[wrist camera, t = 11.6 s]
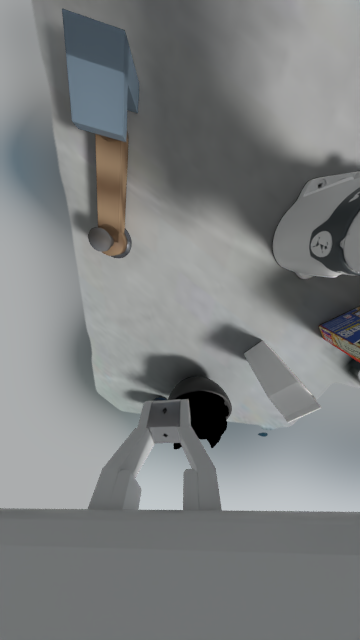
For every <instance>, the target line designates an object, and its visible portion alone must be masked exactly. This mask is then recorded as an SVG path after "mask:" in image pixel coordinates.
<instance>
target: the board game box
mask: <svg viewBox="0 0 360 640" xmlns="http://www.w3.org/2000/svg"><path fill="white" fill-rule="evenodd" d="M319 328H320V331H321V334H322V337H323V339H324V340H326V341H327V342H329V343H330V344H332V345H333V346H335V347H337V348H338V349H340V350H341V351H343V352H344V353H346V354H347V355H349V356H350V357H352V358H354V359H355V360H357V361H358V362H360V307H357V308H355V309H353V310H351V311H349V312H347V313H345V314H343V315H341V316H339V317H337V318H335V319H333V320H331V321H328V322H326V323H324V324H322V325H319Z"/></svg>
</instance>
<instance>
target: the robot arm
mask: <svg viewBox="0 0 360 640" xmlns="http://www.w3.org/2000/svg"><path fill="white" fill-rule="evenodd" d="M318 185H320V187H319V188H318ZM273 253H274V256H275V259H276V261H277V262H278V263H279V264H280V265H281V266H282V267H283V268H285V269H287V270H291V271H293V272H295V273H296V274H297V275H298V276H299V277H300V278H301V279H309V278H311V277H313V276H321V277H329V278H334V277H337V276H338V275H341V274H345V275H354V276H355V275H359V276H360V171H357V172H351V173H345V174H338V175H332V176H326V177H320V178H315V179H312V180H310V181H308V182H307V183H306V185H305V186H304V188H303V190H302V192H301V194H300V196H299V198H298V200H297V201H296V202H295V203H294V205H293V206H292V207H291V208H290V209H289V210H288V211H287V212H286V214H285V215H284V216H283V218H282V219H281V221H280V223H279V225H278V227H277V229H276V232H275V235H274V239H273ZM154 443H181V445H182V447H183V450H184V452H185V454H186V456H187V459H188V461H189V463H190V465H191V468H192V469H186V470H185V472H184V486H183V487H184V488H183V496H184V497H183V510H138V508H139V501H140V496H141V488H140V486H139V484H138V483H137V481H136V480H135V478H136V476H137V474H138V472H139V471H140V469H141V467H142V465H143V464H144V462H145V460H146V458H147V457H148V455H149V453H150V451H151V450H152V448H153V446H154ZM0 640H360V512H309V511H307V512H306V511H304V512H303V511H222V510H221V504H220V496H219V489H218V482H217V476H216V468H215V466H214V465H213V463H212V461H211V460H210V458H209V456H208V454H207V453H206V451H205V449H204V447H203V446H202V444H201V442H200V440H199V439H198V437H197V435H196V434H195V432H194V430H193V428H192V427H191V419H190V407H189V399H177V400H162V401H145V402H144V404H143V408H142V412H141V416H140V420H139V424H138V428H135V429H134V430H133V432H132V433H131V434H130V435H129V437H128V438H127V439H126V440H125V442H124V443H123V444H122V445H121V446H120V448H119V449H118V450H117V451H116V453H115V454H114V455H113V456H112V458H111V459H110V460H109V461H108V463H107V464H106V465H105V466H104V468H103V469H102V472H101V474H100V477H99V480H98V482H97V485H96V488H95V490H94V493H93V496H92V498H91V502H90V504H89V507H88V509H3V508H2V509H1V508H0Z"/></svg>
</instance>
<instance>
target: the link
mask: <svg viewBox="0 0 360 640" xmlns="http://www.w3.org/2000/svg"><path fill="white" fill-rule="evenodd" d="M95 137H96V173H97V209H98V227H95V228H92V229H91V230H90V231H89V234H88V239H89V242H90V244H91V246H92V247H93V248H94V249H96V250H97V251H101V252H103V253H104V254H106V255H109V256H114V255H120V254H123V253H124V252H125V251H126V249H127V245H128V242H127V238H126V235H125V234H124V230H125V207H126V185H127V162H128V132H127V135H126V142H123V141H120V140H116V139H113V138H109V137H106V136H102V135H99V134H95Z"/></svg>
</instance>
